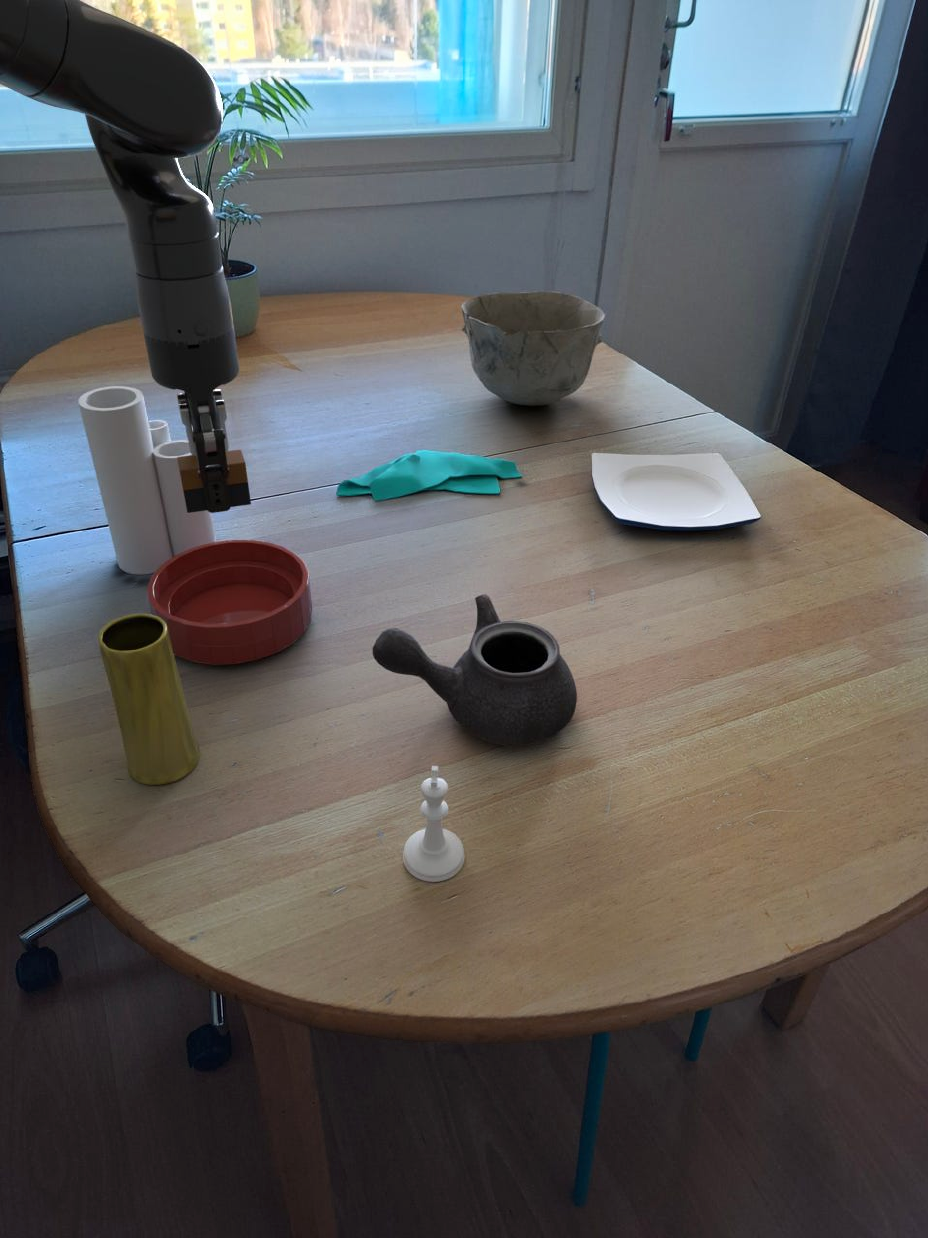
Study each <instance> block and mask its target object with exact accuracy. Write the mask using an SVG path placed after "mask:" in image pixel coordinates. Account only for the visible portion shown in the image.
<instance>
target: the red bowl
mask: <svg viewBox="0 0 928 1238" xmlns="http://www.w3.org/2000/svg"><path fill="white" fill-rule="evenodd" d="M146 589H147V599H148V604H149V608H150V612H151V615H154V616H157V617H160V618H161V619H162V620H163V621H164V622H165V623H166V625H167V628H168V632H169V637H170V641H171V646H172V650H173V654H174V656H176V657H179V658H182V659H184V660H187V661H189V662H192V663H198V664H205V665H213V666H217V665H218V666H219V665H221V666H222V665H236V664H243V663H248V662H253V661H257V660H261V659H263V658H266V657H269V656H272V655H274V654H277V653H279V652H281V651H282V650H284V649H286V648H288V647H290V646H291V645H293V644H294V643H295V642H296V641H297V640H298V639H299V638H300V637H301V636H303V635H304V633H305V631H306V630H307V628H308V627H309V624H310V623H311V621H312V614H313V603H312V592H311V582H310V573H309V570H308V567H307V564H306V562H305V561H304V560H303V559H302V558H301V556H299V555H298V554H297V553H296V552H294V551H292V550H290V549H289V548H286V547H285V546H282V545H279V544H275V543H273V542H269V541H263V540H255V539H226V540H219V541H216V542H212V543H208V544H204V545H201V546H197V547H194V548H191V549H189V550H186V551H184V552H182V553H180V554H177V555H175V556H174V557H172V558H171V559H169V560H168V561H167V562H165V563H164V564H162V565H161V566H160V567H159V568H158V569H157V571H156V572H155V573H152V575H151V577H150V579H149V581H148V585H147V587H146Z"/></svg>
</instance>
